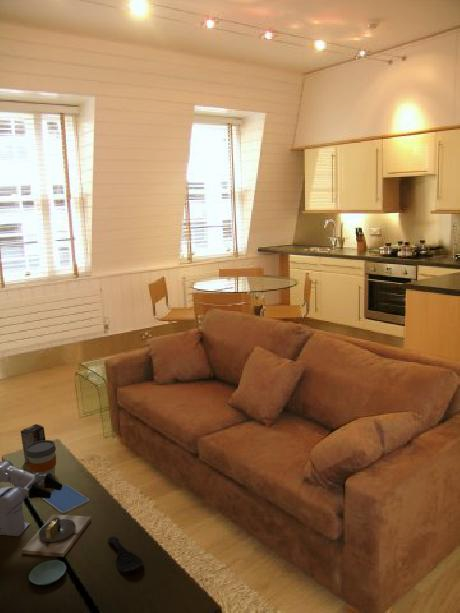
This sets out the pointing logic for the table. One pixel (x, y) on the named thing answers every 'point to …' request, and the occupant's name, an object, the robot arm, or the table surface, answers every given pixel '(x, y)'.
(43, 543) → the dial board
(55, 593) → the table surface
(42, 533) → the dial
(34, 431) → the coffee box
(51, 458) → the reusable coffee cup
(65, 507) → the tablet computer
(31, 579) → the saucer
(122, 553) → the hairbrush
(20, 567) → the table surface
